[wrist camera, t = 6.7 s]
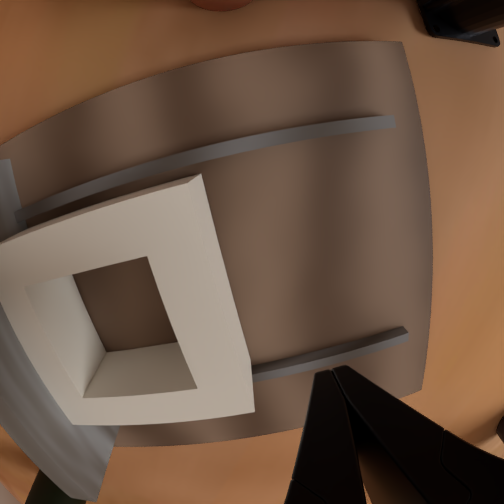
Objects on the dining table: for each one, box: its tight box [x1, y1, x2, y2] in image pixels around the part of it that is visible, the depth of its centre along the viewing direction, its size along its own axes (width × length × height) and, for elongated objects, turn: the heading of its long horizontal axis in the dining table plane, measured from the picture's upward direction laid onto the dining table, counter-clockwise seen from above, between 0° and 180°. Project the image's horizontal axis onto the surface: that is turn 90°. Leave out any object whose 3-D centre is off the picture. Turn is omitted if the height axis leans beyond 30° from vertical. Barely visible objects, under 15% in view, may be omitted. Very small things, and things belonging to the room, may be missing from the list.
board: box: [0, 41, 433, 502], centre depth 13 cm, size 24×22×8 cm
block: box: [0, 174, 255, 425], centre depth 13 cm, size 10×10×4 cm
